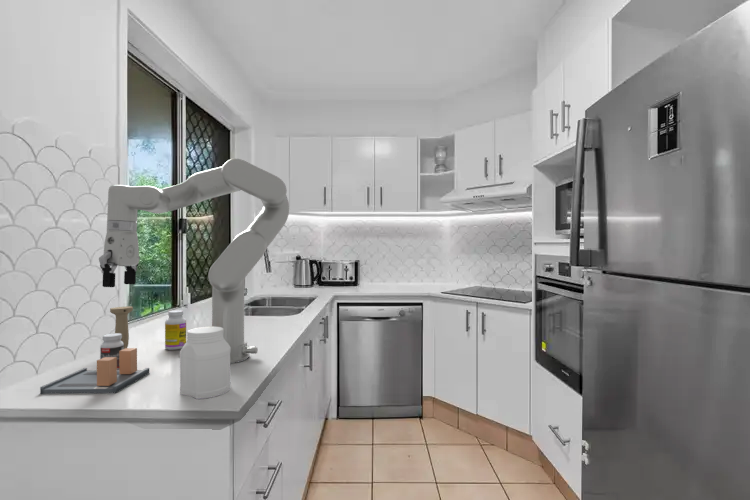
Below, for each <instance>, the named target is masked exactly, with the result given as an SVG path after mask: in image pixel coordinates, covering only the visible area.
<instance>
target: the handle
mask: <svg viewBox="0 0 750 500" xmlns="http://www.w3.org/2000/svg"><path fill="white" fill-rule="evenodd" d="M133 309H134V308H133V306H130V305H129V306H127V305H126V306H118V307H116V306H115V307H111V308H110V309H109V312H110V313H111V314H113V315H114V316H115V324H114V325H115V328H114V329H115V330H114V333H120V334H122V338H121V341H122V342H123V343H124V349H125V348H129V343H130V342H129V341H130V337H129V319H128V316H129V314H130V313H132V312H133Z"/></svg>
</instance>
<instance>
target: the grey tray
mask: <svg viewBox="0 0 750 500" xmlns="http://www.w3.org/2000/svg"><path fill="white" fill-rule="evenodd" d="M87 369H88V368H86V367H84V368H81V369H79V370H77V371H74V372H72V373H69V374H67V375H65V376H63V377H60V378H58V379H56V380H54V381H51V382H49V383H47V384H44V385H42V386H40V387H39V390H40V391H39V392H40V394H41V395H44V394H45V395H46V394H49V395H51V394H58V395H59V394H61V395H62V394H117V393H119V392H121V391H122V390H123V389H125V388H128V387H129V386H131V385H132V384H134V383H135V382H138V381H139V380H141V379H143V378H144V377H146V376H148V375H150V368H149V367H145V368H144V369H137V371H136V372H134V373H132V374H119V370H117V382H115V383H113V384H112V385H110V386H97V369H96V370H95V369H94V370H93V369H92V370H87Z"/></svg>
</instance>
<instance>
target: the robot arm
mask: <svg viewBox="0 0 750 500" xmlns="http://www.w3.org/2000/svg"><path fill="white" fill-rule="evenodd" d="M107 190H108V194H107V211H106V212H107V215H106V216H107V217H106V233H105V240H104V245H103V254H102V255H100V256H99V257H98V262H99V267H100V269H101V273H102V287H103V288H115V286H116V272H115V270H116V269H117V267H124V269H125V270H124V271H123V274H124V275H123V284H124V285H135V284H136V280H137V279H136V278H137V276H136V275H137V271H138V266H139V262H140V254H139V251H140V250H139V249H140V247H139V238H138V233H137V230H138V229H137V227H138V211H144V212H149V213H151V214H163V213H165V214H166V213H169V212H173V211H176V210H179V209H182V208H186V207H190V206H191V205H195V204H198V203H202V202H204V201H207V200H210V199H215V198H218V197H220V196H221V197H222V196H225V195H229V194H233V193H236V192H240V191H241V192H244V193H247V194H248V195H251V196H253V197H254V198H257V199H259V200H260V202H261V203H262V209H261V210H260V212H259V214H258V215H257V216H256V217H255V218H254V219H253V221H252V222H251V223H250V225H249V226H248V227H247V228H246V229H245V230H244V231H242V232H240V233H238V234H237V235H236V236H235V237H234V239H233V240H231V242H230V243H229V245H227V247H226V248H225V249H224V250H223V251H222V253H221V254H220V255H219V256H218V258H217V259H216V260H215V261H214V263H212V265H211V266H210V268H209V270H208V281H209V284H210V285H211V286H212V291H211V292H212V293H211V327H222V328H223V337H224V339H225V340H226V342H227V343H228V344H229V346H230V348H231V352H230V364H235V362H236V363H239V362H238V361H240V362H243V361H242V360H244V361H246V360H247V358H248V357H249V358H250V354H253V355H254V354H255V355H256V354H258V347H257V346H255V345H253V346H249V345H248V342H247V341H245V278H246V277H247V276H249V275H248V274H250V272H251V271H252V270H253V268H254V267H255V266H256V265H257V264H258V263H259V262H260V260H261V259H262V257H263V256H264V255H265V253H266V250H267V249H268V247H269V246H270V245H271V244H272V242H273V241H274V239H276V237H277V235H279V233H280V231H281V230H282V229H283V228H284V226H285V225H286V223H287V221H288V219H289V214H290V204H289V199H288V195H287V185H286V184H285V182H284V181H283V180H282V179H281V178H280V177H278V176H277V175H275V174H273V173H271V172H269V171H266V170H264V169H263V168H260V167H258V166H257V165H254V164H252V163H250V162H248V161H247V160H244V159H241V158H231V159H228V160H227V161H226V162H224V164H222V166H219V167H214V168H210V169H207V170H202V171H199V172H195V173H194V174H192V175H190V176H189V177H188V178H187V179H186V180H185V181H182V182H180V183H178V184H176V185H175V184H174V185H171V186H168V187H164V188H157V187H156V186H151V185H137V186H134V185H133V186H130V185H127V184H125V185H124V184H113V185H110V186H109V187H108V189H107ZM249 358H248V359H249ZM245 359H246V360H245Z"/></svg>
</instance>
